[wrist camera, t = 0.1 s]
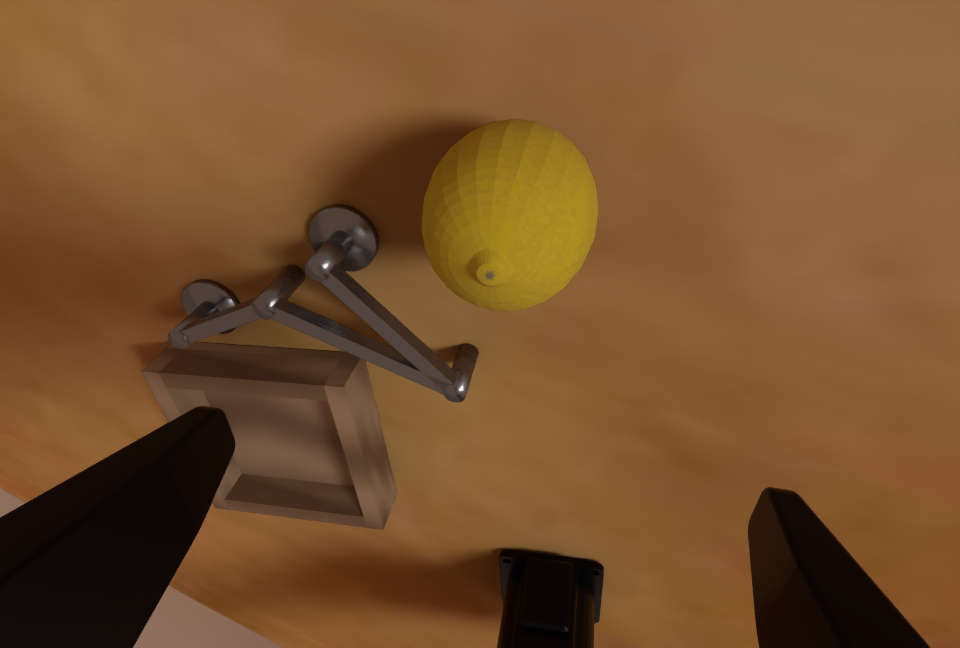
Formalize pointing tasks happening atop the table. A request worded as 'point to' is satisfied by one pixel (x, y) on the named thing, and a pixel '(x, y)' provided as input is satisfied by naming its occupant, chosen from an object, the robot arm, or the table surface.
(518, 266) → the lemon
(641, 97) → the table surface
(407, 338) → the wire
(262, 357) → the tray
